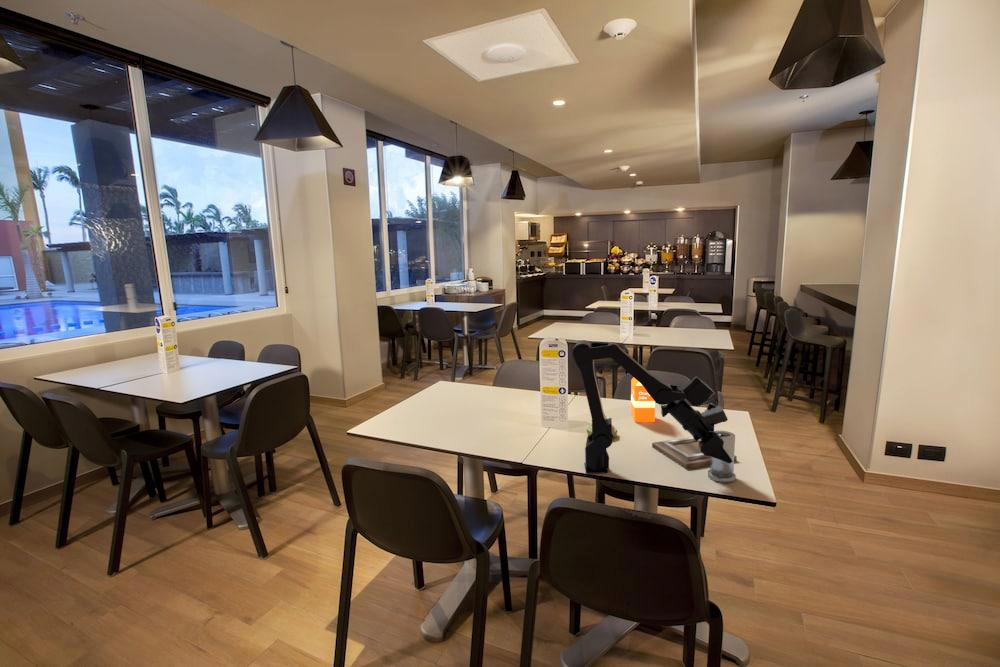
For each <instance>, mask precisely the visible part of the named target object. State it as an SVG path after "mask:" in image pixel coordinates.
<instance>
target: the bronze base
mask: <svg viewBox="0 0 1000 667" xmlns="http://www.w3.org/2000/svg"><path fill="white" fill-rule="evenodd" d="M700 441H701V439H698V440H697V441H696V440H695V439H694V438H693V436H690V437H684V438H683V437H682V438H676V439H669V440H662V441H655V442H652V443H651V447H652V448H653V449H654V448H655V449H654V450H656V451H657V450H658V451H657V452H659V453H661V454H662V453H663V454H662V455H663V456H665V455H666V456H665V457H667V458H669V459H670V460H672V462H674V463H676V464H677V463H678V464H677V465H679V466H680V465H681V467H682V468H683V467H684V469H685V468H686V469H685V470H688V469H687V468H689V469H695V468H701V466H702V467H706V466H707V467H708V466H711V456H705V455H704V454H703V453H702V452H701V451H700V449H699V442H700ZM737 458H738V457H737V455H735V454H734V462H737V461H738V460H737Z"/></svg>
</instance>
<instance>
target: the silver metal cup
mask: <svg viewBox="0 0 1000 667" xmlns="http://www.w3.org/2000/svg"><path fill="white" fill-rule="evenodd" d="M713 432H716V433H717V434H718V435H719V436H720V437H721V438H722V439H723V441H724V444H723V448H724V449H725V451H726V452H727V454H728V455H729V456H730V458H731V459H732V462H731V463H727V462H725V461H722V460H719V459H717V458H714V457H711V465H710V469H708V471H707V477H708V479H709V478H710V480H711V481H713V482H715V481H716V483H718V482H721V483H720V484H733V483H734V481H735V482H736V479H737V478H736V477H737V476H736V475H737V474H736V473H735V471H734V468H735V461H734V455H735V448H736V447H735V446H736V445H735V444H736V434H734V433H733V432H729V431H727V430H714V431H713ZM732 482H733V483H732Z"/></svg>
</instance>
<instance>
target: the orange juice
mask: <svg viewBox="0 0 1000 667" xmlns="http://www.w3.org/2000/svg"><path fill="white" fill-rule="evenodd" d="M630 382H631V383H630V386H631V388H630V416H631V417H632V420H633V419H634V420H633V422H634V421H635V422H655V421H656V419H655V418H656V402H655V401H654V400H653V398H652V397H651V396H650V395H649V393H648V392H647V391H646V389H645V388H644V387H643V385H642V384H641V383H640V382H639V381H637V380H636V379H635V378H634V377H633V376H632V379H631V380H630ZM635 422H634V423H635ZM655 423H656V422H655Z"/></svg>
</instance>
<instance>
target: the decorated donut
mask: <svg viewBox="0 0 1000 667" xmlns="http://www.w3.org/2000/svg"><path fill="white" fill-rule="evenodd" d="M612 427H613V428H614V438H613V437H612V440H613V439H616V436H618V435H617V433H618V430H617V427H615V426H614V425H613V424H612ZM586 433H587V435H588V436H589V435H591V434H592V423H591V424H588V425H587V426H586Z"/></svg>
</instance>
